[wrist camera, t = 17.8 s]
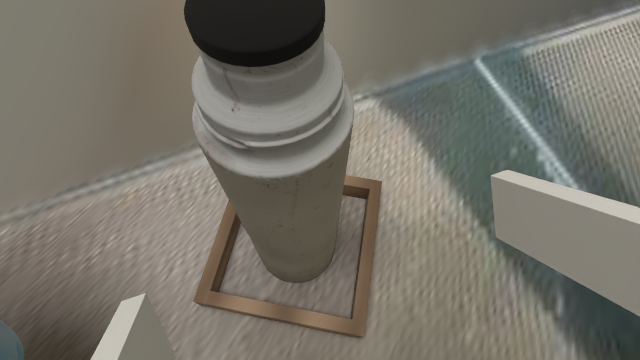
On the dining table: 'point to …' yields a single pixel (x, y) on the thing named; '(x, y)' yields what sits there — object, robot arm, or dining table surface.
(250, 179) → the thermos bottle
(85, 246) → the dining table surface
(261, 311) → the walnut square frame
